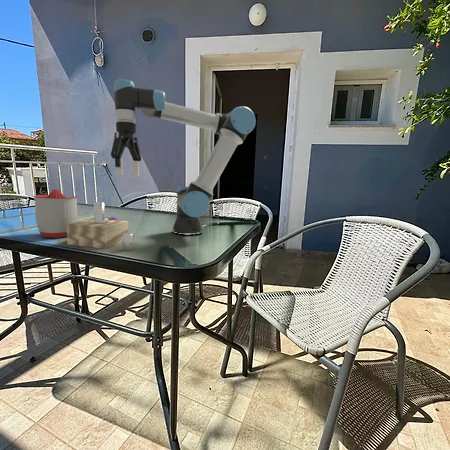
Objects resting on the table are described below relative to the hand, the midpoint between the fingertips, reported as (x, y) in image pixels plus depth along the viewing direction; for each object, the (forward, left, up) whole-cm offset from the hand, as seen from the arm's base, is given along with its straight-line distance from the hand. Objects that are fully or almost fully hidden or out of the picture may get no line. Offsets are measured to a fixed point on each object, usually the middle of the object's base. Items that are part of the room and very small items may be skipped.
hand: (128, 176), depth 112 cm
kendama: (+19, -11, -27) cm, 35 cm away
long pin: (+7, +9, -27) cm, 29 cm away
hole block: (+7, +9, -27) cm, 29 cm away
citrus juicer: (+29, +5, -27) cm, 40 cm away
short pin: (-9, +15, -27) cm, 32 cm away
